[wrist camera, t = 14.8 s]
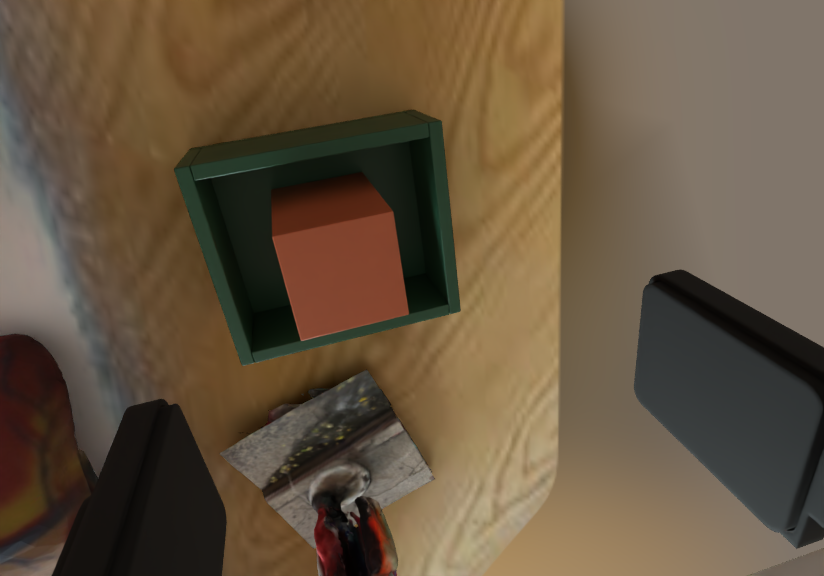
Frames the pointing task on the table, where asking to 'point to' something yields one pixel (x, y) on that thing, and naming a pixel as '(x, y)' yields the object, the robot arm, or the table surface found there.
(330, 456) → the statue
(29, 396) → the anatomical model
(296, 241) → the terracotta block
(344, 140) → the green bin
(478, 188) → the table surface
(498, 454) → the table surface
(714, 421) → the robot arm
